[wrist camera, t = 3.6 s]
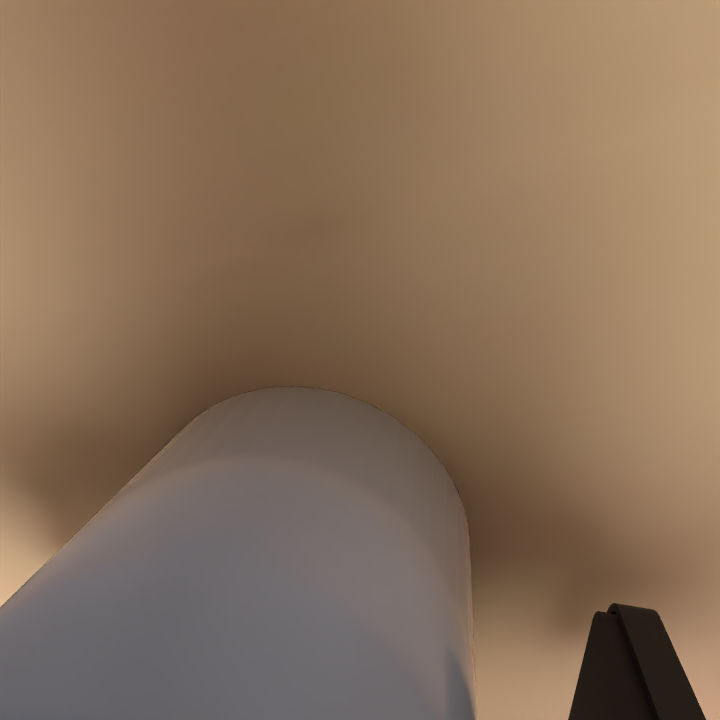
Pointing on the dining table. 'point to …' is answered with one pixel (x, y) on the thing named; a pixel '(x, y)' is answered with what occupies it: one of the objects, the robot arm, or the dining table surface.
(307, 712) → the cup
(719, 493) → the dining table surface
